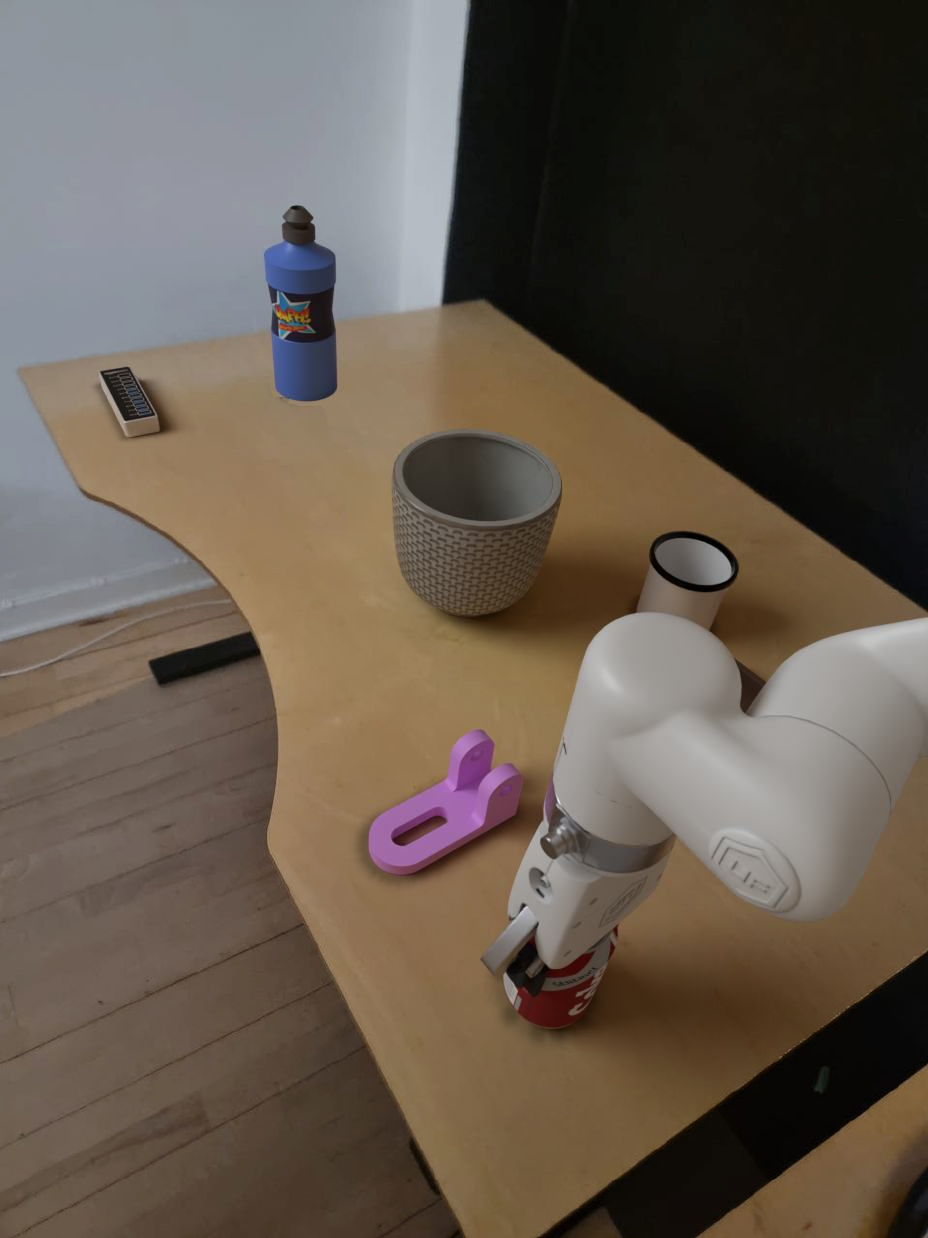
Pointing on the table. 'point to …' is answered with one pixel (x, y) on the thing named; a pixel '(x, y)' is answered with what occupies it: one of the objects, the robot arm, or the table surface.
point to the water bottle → (302, 310)
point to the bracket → (449, 808)
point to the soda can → (564, 987)
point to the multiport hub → (129, 401)
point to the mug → (688, 576)
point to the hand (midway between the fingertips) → (561, 944)
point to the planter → (472, 518)
